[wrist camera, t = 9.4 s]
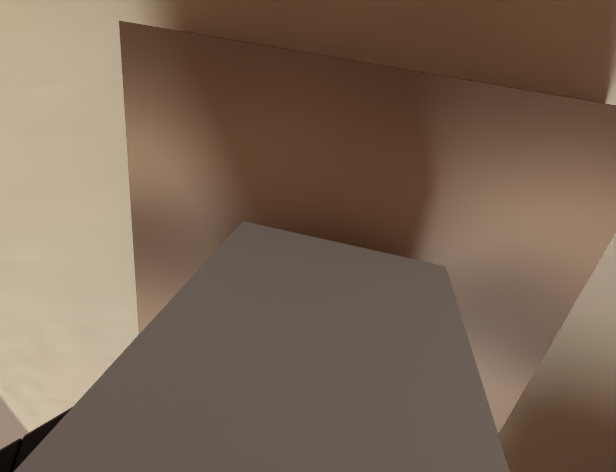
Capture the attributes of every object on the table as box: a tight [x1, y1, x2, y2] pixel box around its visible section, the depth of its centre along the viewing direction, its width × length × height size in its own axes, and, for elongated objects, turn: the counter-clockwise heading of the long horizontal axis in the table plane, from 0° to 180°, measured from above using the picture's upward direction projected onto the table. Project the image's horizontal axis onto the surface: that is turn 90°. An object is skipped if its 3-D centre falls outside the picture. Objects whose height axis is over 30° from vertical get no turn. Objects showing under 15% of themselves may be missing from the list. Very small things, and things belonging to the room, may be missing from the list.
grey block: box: [14, 221, 510, 472], centre depth 7 cm, size 5×5×7 cm
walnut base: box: [119, 21, 616, 434], centre depth 13 cm, size 13×13×3 cm
